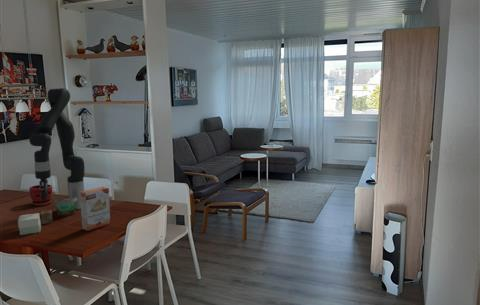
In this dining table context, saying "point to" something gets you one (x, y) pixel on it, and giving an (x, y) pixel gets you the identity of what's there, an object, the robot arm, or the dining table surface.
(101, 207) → the cracker box
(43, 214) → the walnut block
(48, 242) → the dining table surface
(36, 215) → the tower top
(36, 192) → the plant pot
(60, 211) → the food container
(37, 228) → the tower base
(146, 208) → the dining table surface
